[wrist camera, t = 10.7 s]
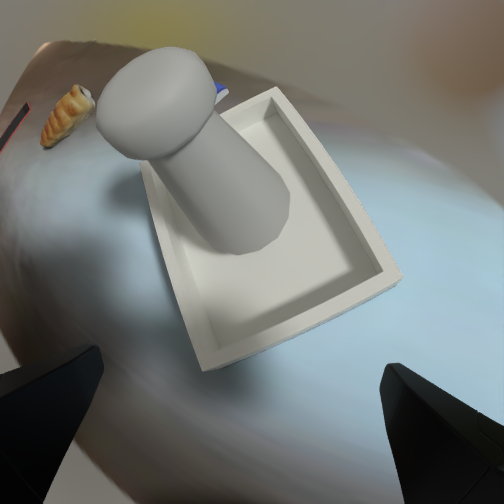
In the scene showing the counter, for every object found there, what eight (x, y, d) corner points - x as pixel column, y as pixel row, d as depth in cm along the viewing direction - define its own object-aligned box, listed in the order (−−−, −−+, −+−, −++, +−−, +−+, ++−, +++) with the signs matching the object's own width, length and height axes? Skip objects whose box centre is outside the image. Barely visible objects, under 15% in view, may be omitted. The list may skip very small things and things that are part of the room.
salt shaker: (306, 189, 20) (245, 13, 8) (282, 273, 18) (166, 152, 7) (227, 176, 22) (120, 39, 10) (199, 252, 21) (46, 151, 9)
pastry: (51, 160, 32) (31, 147, 29) (46, 137, 35) (29, 125, 31) (100, 108, 32) (82, 90, 28) (91, 90, 34) (75, 75, 31)
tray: (395, 285, 17) (403, 277, 15) (219, 368, 19) (202, 371, 16) (283, 107, 23) (276, 86, 20) (155, 177, 24) (139, 163, 22)
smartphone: (-11, 154, 43) (27, 100, 43) (-9, 156, 44) (28, 102, 44) (-10, 168, 41) (30, 108, 41) (-8, 169, 41) (32, 110, 41)
